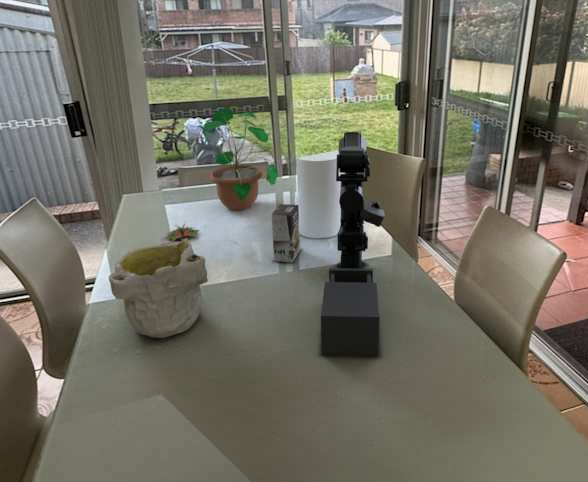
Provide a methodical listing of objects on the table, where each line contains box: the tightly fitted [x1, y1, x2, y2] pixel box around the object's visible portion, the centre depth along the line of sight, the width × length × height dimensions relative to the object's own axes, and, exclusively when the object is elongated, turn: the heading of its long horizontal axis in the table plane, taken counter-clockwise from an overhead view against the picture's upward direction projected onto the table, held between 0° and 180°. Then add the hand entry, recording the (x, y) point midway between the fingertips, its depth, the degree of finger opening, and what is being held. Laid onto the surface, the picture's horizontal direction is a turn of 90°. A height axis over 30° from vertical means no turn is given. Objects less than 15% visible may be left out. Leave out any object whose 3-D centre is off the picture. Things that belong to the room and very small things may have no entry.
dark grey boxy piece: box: [328, 267, 374, 283], centre depth 113 cm, size 16×11×9 cm
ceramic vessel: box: [108, 239, 209, 339], centre depth 108 cm, size 23×24×25 cm
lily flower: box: [163, 221, 201, 242], centre depth 155 cm, size 12×12×5 cm
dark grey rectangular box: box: [320, 281, 380, 357], centre depth 103 cm, size 14×13×11 cm
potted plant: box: [203, 108, 279, 211], centre depth 177 cm, size 31×29×40 cm
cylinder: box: [294, 149, 344, 239], centre depth 156 cm, size 17×17×28 cm
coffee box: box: [270, 203, 301, 264], centre depth 139 cm, size 9×6×16 cm
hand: (351, 251), depth 119 cm, fingers open, 5 cm apart
